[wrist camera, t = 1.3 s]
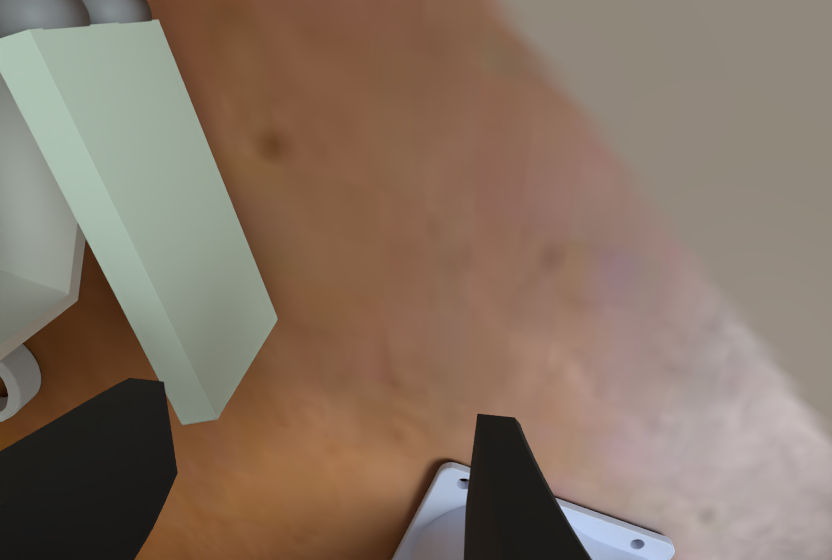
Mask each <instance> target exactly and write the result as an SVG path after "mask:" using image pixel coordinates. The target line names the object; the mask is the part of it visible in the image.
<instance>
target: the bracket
mask: <svg viewBox="0 0 832 560" xmlns="http://www.w3.org/2000/svg"><path fill="white" fill-rule="evenodd" d="M0 377H1V378H2V379H3V381H4V383H5V386H6V388H7V391H8V397H0V422H2V421H4V420H6V419H8V418H10V417H12V416H13V415H14V414H15V413H17V412H18V411H19V410H20V409H21V408H22V407H23V406H24V405H25V404H26V403H28V402H29V401H30V400H31V399H32V398H33V397H34V396H35V395H36V394H37V392H38V391H39V388H40V385H41V373H40V369H39V366H38V363H37V361H36V359H35V358H34V356H33V355H32V353H31V352H30V351H29V350H28V349H27V348H26V346H25V345H24V344H21V345H20V346H18V347H17V348H16V349H14V350H13V351H12V352H11V353H9V354H8V355H7V356H5V357H4V358H3V359H1V360H0Z"/></svg>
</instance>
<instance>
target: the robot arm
mask: <svg viewBox="0 0 832 560" xmlns="http://www.w3.org/2000/svg"><path fill="white" fill-rule="evenodd" d="M176 475H177V466H176V460H175V453H174V446H173V440H172V433H171V426H170V419H169V413H168V406H167V399H166V393H165V386H164V382H163V381H153V380H143V379H133V378H129V379H127V380H125V381H123V382H121V383H119V384H117V385H115V386H113V387H111V388H109V389H108V390H106V391H104V392H102V393H101V394H99V395H97V396H95V397H94V398H92V399H90V400H88V401H87V402H85V403H83V404H81V405H80V406H78V407H76V408H75V409H73V410H71V411H69V412H68V413H66V414H64V415H63V416H61V417H59V418H57V419H56V420H54V421H52V422H51V423H49V424H47V425H45V426H44V427H42V428H40V429H38V430H37V431H35V432H33V433H31V434H30V435H28V436H26V437H24V438H23V439H21V440H19V441H18V442H16V443H14V444H12V445H11V446H9V447H7V448H5V449H4V450H2V451H0V560H134V559H135V557H136V556H137V554H138V552H139V551H140V549H141V547H142V546H143V544H144V542H145V541H146V539H147V537H148V536H149V534H150V532H151V530H152V529H153V527H154V525H155V522H156V520H157V518H158V516H159V514H160V512H161V510H162V508H163V505H164V503H165V501H166V499H167V496H168V494H169V492H170V489H171V487H172V485H173V482H174V480H175V478H176ZM462 478H465V479H468V480H469V481H461V480H459V479H462ZM636 539H639V540H636ZM633 540H636V541H633ZM674 553H675V550H674V546H673V543H672V541H671V540H670V539H669V538H667V537H666V536H663V535H660V534H657V533H654V532H651V531H649V530H646V529H643V528H640V527H637V526H634V525H631V524H629V523H626V522H623V521H620V520H617V519H614V518H612V517H609V516H606V515H603V514H600V513H597V512H594V511H592V510H589V509H586V508H583V507H580V506H577V505H575V504H572V503H569V502H566V501H563V500H560V499H557V498H555V497H554V495H553V493H552V491H551V489H550V488H549V486H548V484H547V482H546V480H545V478H544V476H543V474H542V472H541V470H540V468H539V466H538V464H537V462H536V460H535V458H534V456H533V454H532V451H531V449H530V447H529V445H528V443H527V440H526V438H525V435H524V433H523V431H522V428H521V425H520V423H519V422H518V421H517V420H516V419H515V418H514V417H504V416H494V415H484V414H477V422H476V430H475V437H474V445H473V453H472V461H471V468H469V467H466V466H464V465H461V464H458V463H454V462H449V463H445V464H443V465H442V466H441V467H440V468H439V469H438V471H437V473H436V475H435V477H434V479H433V481H432V483H431V485H430V487H429V489H428V491H427V493H426V494H425V496H424V498H423V500H422V502H421V504H420V506H419V508H418V510H417V512H416V514H415V516H414V517H413V519H412V521H411V523H410V525H409V527H408V529H407V531H406V533H405V535H404V537H403V539H402V541H401V542H400V544H399V546H398V548H397V550H396V552H395V554H394V556H393V558H392V560H670V559H671V557H672V556H673V555H674Z"/></svg>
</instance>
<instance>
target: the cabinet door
mask: <svg viewBox="0 0 832 560" xmlns="http://www.w3.org/2000/svg"><path fill="white" fill-rule="evenodd" d="M0 72H1V74H2V76H3V78H4V80H5V82H6V84H7V86H8V88H9V90H10V92H11V94H12V96H13V98H14V100H15V101H16V103H17V105H18V107H19V109H20V111H21V113H22V115H23V117H24V119H25V121H26V123H27V125H28V127H29V129H30V131H31V133H32V134H33V136H34V138H35V140H36V142H37V144H38V146H39V148H40V150H41V152H42V154H43V156H44V158H45V160H46V162H47V164H48V166H49V167H50V169H51V171H52V173H53V175H54V177H55V179H56V181H57V183H58V185H59V187H60V189H61V191H62V193H63V195H64V197H65V199H66V201H67V202H68V204H69V206H70V208H71V210H72V212H73V214H74V216H75V218H76V220H77V222H78V224H79V226H80V228H81V230H82V232H83V234H84V235H85V237H86V239H87V241H88V243H89V245H90V247H91V249H92V251H93V253H94V255H95V257H96V259H97V261H98V263H99V265H100V267H101V268H102V270H103V272H104V274H105V276H106V278H107V280H108V282H109V284H110V286H111V288H112V290H113V292H114V294H115V296H116V298H117V300H118V301H119V303H120V305H121V307H122V309H123V311H124V313H125V315H126V317H127V319H128V321H129V323H130V325H131V327H132V329H133V331H134V333H135V334H136V336H137V338H138V340H139V342H140V344H141V346H142V348H143V350H144V352H145V354H146V356H147V358H148V360H149V362H150V364H151V366H152V367H153V369H154V371H155V373H156V375H157V377H158V379H159V381H163V382H164V386H165V393H166V395H167V397H168V399H169V400H170V402H171V404H172V406H173V408H174V410H175V412H176V414H177V416H178V418H179V420H180V422H181V424H182V425H186V424H192V423H198V422H204V421H210V420H216V419H218V418H219V416H220V414H221V413H222V411H223V409H224V408H225V406H226V404H227V403H228V401H229V399H230V398H231V396H232V394H233V393H234V391H235V389H236V388H237V386H238V385H239V383H240V381H241V380H242V378H243V376H244V375H245V373H246V371H247V370H248V368H249V366H250V365H251V363H252V361H253V360H254V358H255V356H256V355H257V353H258V351H259V350H260V348H261V346H262V345H263V343H264V341H265V340H266V338H267V337H268V335H269V333H270V332H271V330H272V328H273V327H274V325H275V323H276V322H277V320H278V318H277V316H276V313H275V311H274V308H273V306H272V303H271V301H270V298H269V296H268V293H267V291H266V288H265V286H264V283H263V281H262V278H261V276H260V273H259V271H258V268H257V265H256V263H255V260H254V258H253V255H252V253H251V250H250V248H249V245H248V243H247V240H246V238H245V235H244V233H243V230H242V228H241V225H240V223H239V220H238V218H237V215H236V213H235V210H234V208H233V205H232V203H231V200H230V198H229V195H228V193H227V190H226V188H225V185H224V183H223V180H222V178H221V175H220V173H219V170H218V168H217V165H216V163H215V160H214V158H213V155H212V153H211V150H210V148H209V145H208V143H207V140H206V138H205V135H204V133H203V130H202V128H201V125H200V123H199V120H198V118H197V115H196V113H195V110H194V108H193V105H192V103H191V100H190V98H189V95H188V93H187V90H186V88H185V85H184V83H183V80H182V78H181V75H180V73H179V70H178V68H177V65H176V63H175V60H174V58H173V55H172V53H171V50H170V48H169V45H168V43H167V40H166V38H165V35H164V33H163V30H162V28H161V25H160V23H159V20H152V14H151V10H150V7H149V5H148V3H147V1H146V0H0Z"/></svg>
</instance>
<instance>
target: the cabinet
mask: <svg viewBox="0 0 832 560" xmlns="http://www.w3.org/2000/svg"><path fill="white" fill-rule="evenodd" d="M85 241H86V237H85V235H84V234H83V232H82V230H81V228H80V226H79V224H78V222H77V220H76V218H75V216H74V214H73V212H72V210H71V208H70V206H69V204H68V202H67V201H66V199H65V197H64V195H63V193H62V191H61V189H60V187H59V185H58V183H57V181H56V179H55V177H54V175H53V173H52V171H51V169H50V167H49V166H48V164H47V162H46V160H45V158H44V156H43V154H42V152H41V150H40V148H39V146H38V144H37V142H36V140H35V138H34V136H33V134H32V133H31V131H30V129H29V127H28V125H27V123H26V121H25V119H24V117H23V115H22V113H21V111H20V109H19V107H18V105H17V103H16V101H15V100H14V98H13V96H12V94H11V92H10V90H9V88H8V86H7V84H6V82H5V80H4V78H3V76H2V74H1V72H0V360H1V359H3V358H4V357H5V356H7V355H8V354H9V353H11V352H12V351H13V350H14V349H16V348H17V347H18V346H20V345H21V344H22V343H23V342H25V341H26V340H27V339H29V338H30V337H31V336H33V335H34V334H35V333H36V332H38V331H39V330H40V329H42V328H43V327H44V326H46V325H47V324H48V323H49V322H51V321H52V320H53V319H55V318H56V317H57V316H59V315H60V314H61V313H62V312H64V311H65V310H66V309H68V308H69V307H70V306H71V305H73V304H74V303H75V302H77V301H78V296H79V288H80V280H81V272H82V264H83V256H84V249H85Z"/></svg>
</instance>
